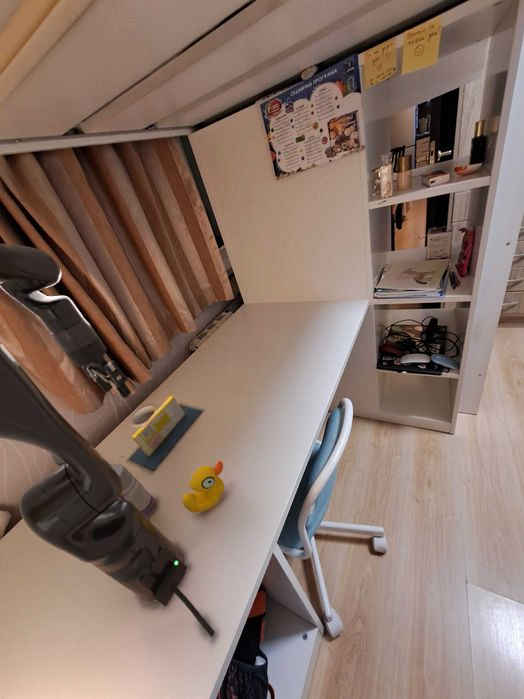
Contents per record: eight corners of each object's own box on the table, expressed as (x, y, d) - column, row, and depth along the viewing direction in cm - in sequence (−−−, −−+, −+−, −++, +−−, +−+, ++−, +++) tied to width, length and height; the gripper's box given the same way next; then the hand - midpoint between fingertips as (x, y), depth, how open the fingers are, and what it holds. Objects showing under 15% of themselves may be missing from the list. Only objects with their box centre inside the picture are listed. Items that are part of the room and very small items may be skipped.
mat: (202, 411, 93) (202, 410, 92) (153, 470, 78) (153, 470, 78) (178, 405, 98) (178, 404, 98) (129, 459, 84) (128, 458, 84)
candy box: (181, 413, 94) (170, 395, 90) (186, 414, 93) (175, 396, 89) (145, 454, 84) (130, 436, 79) (149, 456, 82) (135, 438, 78)
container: (135, 508, 70) (100, 473, 62) (152, 494, 72) (120, 458, 64) (141, 522, 67) (105, 487, 59) (159, 507, 69) (126, 471, 61)
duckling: (228, 474, 71) (214, 449, 66) (239, 490, 67) (224, 464, 61) (187, 506, 67) (169, 483, 62) (196, 525, 63) (177, 501, 57)
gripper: (50, 348, 67) (91, 398, 76) (80, 353, 59) (122, 408, 68) (79, 331, 72) (114, 379, 81) (110, 333, 64) (145, 387, 73)
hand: (118, 392), depth 74 cm, fingers open, 8 cm apart
